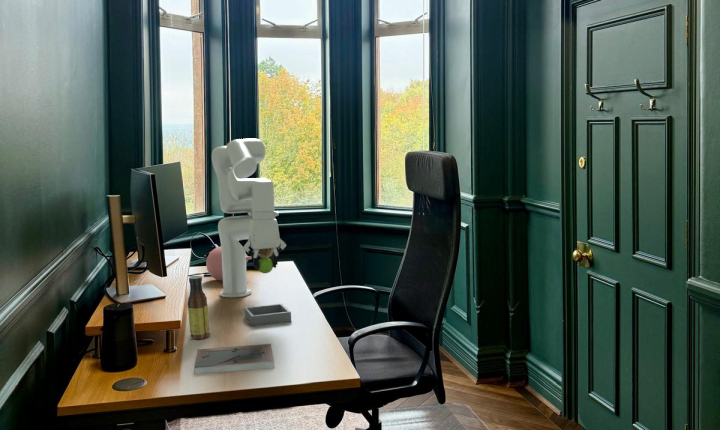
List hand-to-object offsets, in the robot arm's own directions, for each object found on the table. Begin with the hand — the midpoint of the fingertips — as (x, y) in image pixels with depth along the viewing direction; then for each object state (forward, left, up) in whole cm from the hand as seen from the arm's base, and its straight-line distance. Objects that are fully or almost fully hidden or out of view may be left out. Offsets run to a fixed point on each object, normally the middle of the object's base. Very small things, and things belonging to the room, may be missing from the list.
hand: (265, 267), depth 240 cm
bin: (0, 0, -19) cm, 19 cm away
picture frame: (+39, -19, -19) cm, 48 cm away
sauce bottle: (+11, -25, -19) cm, 33 cm away
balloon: (-71, 0, -19) cm, 73 cm away
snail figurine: (0, 0, -2) cm, 2 cm away
